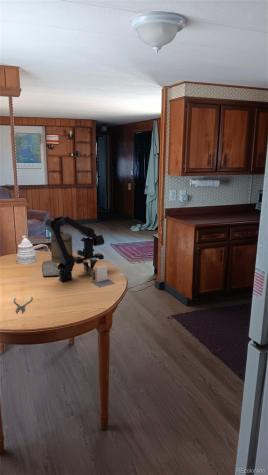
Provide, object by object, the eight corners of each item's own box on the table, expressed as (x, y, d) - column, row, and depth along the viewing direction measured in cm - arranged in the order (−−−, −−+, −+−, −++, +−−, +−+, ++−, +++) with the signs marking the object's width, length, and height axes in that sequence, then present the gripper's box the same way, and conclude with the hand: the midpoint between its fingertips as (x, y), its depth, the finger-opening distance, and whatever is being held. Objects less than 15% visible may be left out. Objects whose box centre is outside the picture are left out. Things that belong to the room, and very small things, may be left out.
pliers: (31, 295, 186) (37, 310, 168) (32, 296, 186) (37, 311, 168) (12, 297, 182) (16, 313, 164) (13, 299, 182) (16, 315, 164)
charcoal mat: (99, 288, 197) (99, 287, 197) (90, 282, 206) (90, 281, 206) (115, 284, 203) (115, 283, 203) (106, 278, 212) (106, 278, 212)
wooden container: (73, 256, 257) (72, 227, 252) (71, 262, 243) (70, 232, 238) (53, 257, 256) (52, 227, 251) (49, 263, 242) (48, 232, 237)
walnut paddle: (81, 271, 221) (81, 264, 220) (89, 269, 225) (90, 262, 223) (93, 280, 209) (94, 272, 208) (102, 278, 212) (102, 270, 211)
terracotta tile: (97, 282, 205) (96, 267, 203) (95, 281, 206) (95, 266, 204) (107, 279, 209) (107, 265, 207) (105, 278, 210) (105, 264, 208)
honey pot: (14, 261, 246) (12, 236, 242) (31, 257, 254) (29, 233, 250) (22, 265, 237) (20, 239, 233) (39, 261, 245) (38, 236, 241)
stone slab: (56, 260, 243) (59, 272, 215) (56, 264, 244) (60, 277, 215) (41, 261, 240) (42, 273, 212) (41, 265, 241) (43, 278, 213)
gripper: (95, 242, 227) (95, 265, 231) (69, 246, 217) (70, 270, 220) (104, 246, 218) (104, 269, 222) (77, 250, 208) (78, 275, 211)
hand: (89, 271), depth 219 cm, fingers closed on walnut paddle, 2 cm apart
